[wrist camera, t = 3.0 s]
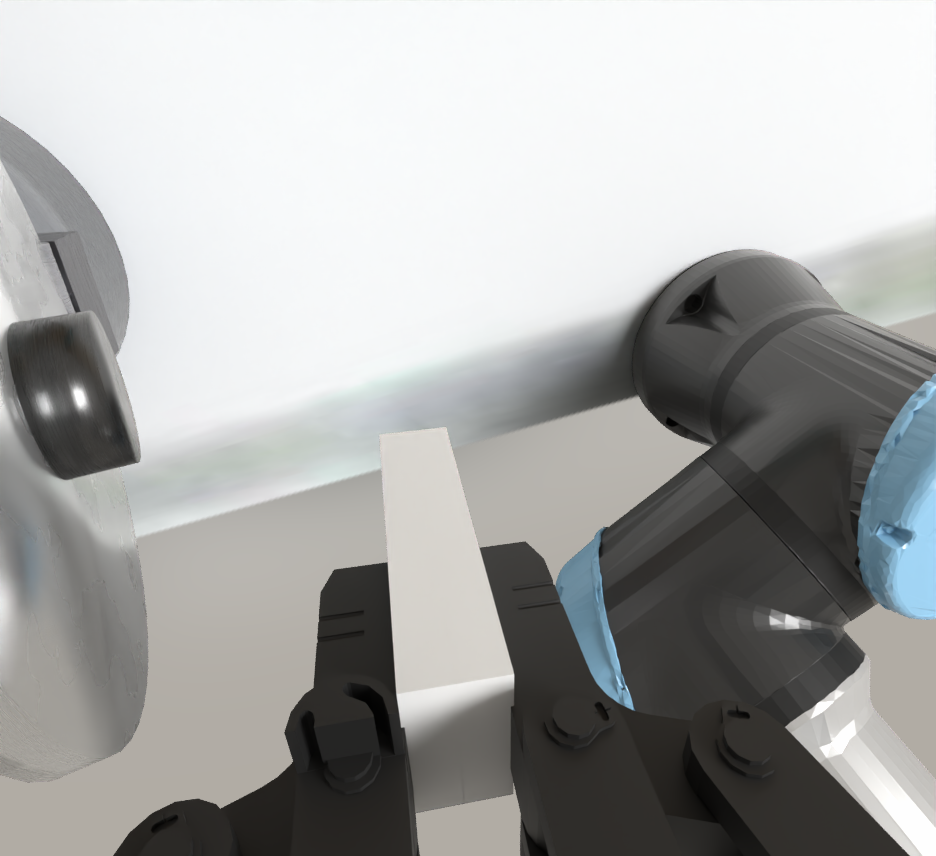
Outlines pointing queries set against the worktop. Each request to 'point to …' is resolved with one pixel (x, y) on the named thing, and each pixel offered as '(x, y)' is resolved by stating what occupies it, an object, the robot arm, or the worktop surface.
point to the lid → (62, 523)
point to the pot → (69, 230)
